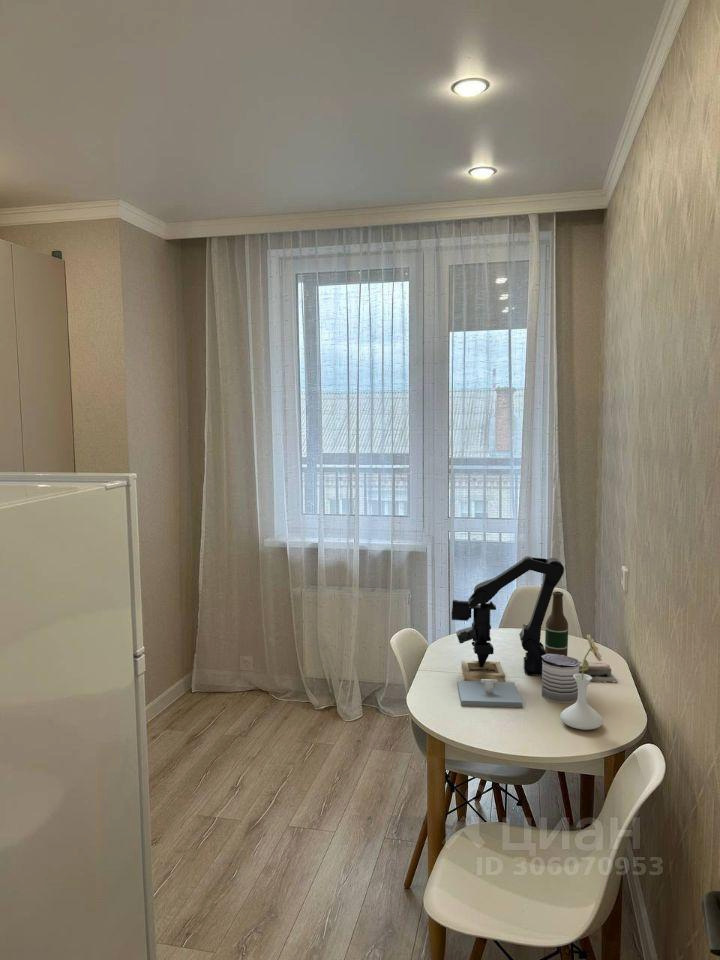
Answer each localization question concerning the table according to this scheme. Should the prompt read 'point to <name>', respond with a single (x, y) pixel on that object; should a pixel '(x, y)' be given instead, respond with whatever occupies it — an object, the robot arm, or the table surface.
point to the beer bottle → (556, 628)
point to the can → (559, 678)
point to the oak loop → (478, 676)
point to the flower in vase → (583, 699)
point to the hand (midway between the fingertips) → (480, 666)
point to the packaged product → (598, 671)
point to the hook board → (489, 693)
